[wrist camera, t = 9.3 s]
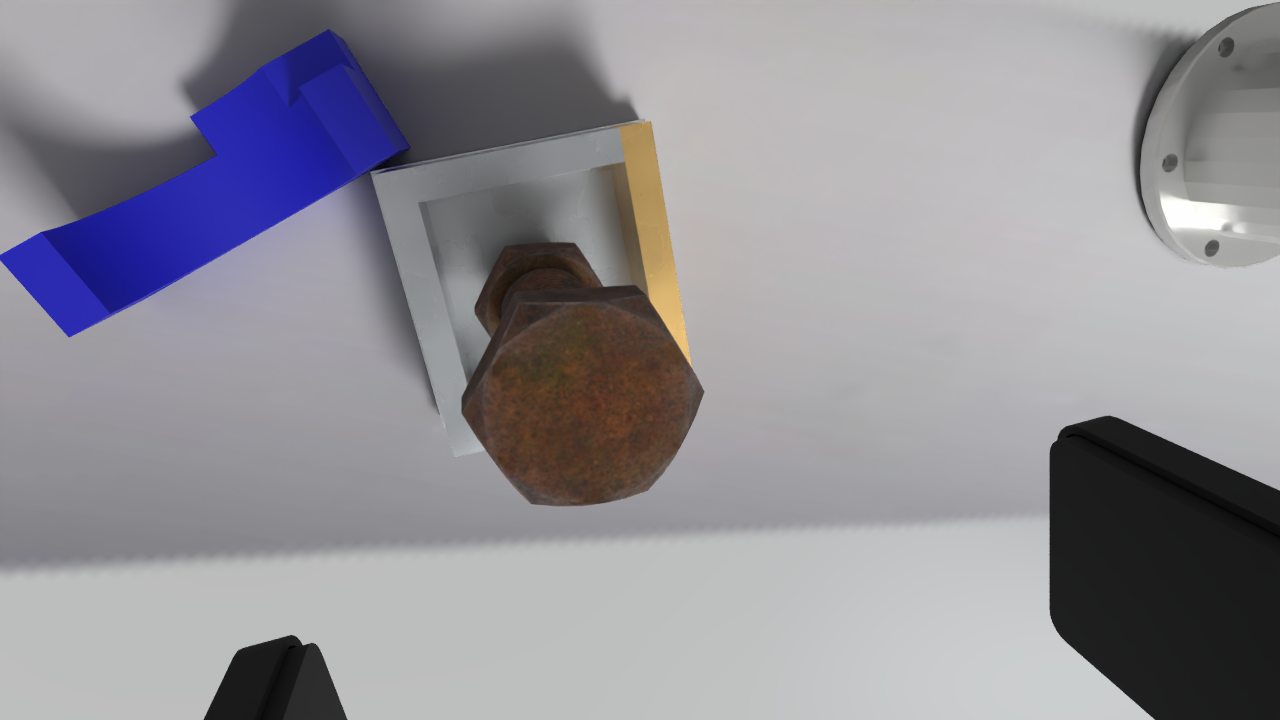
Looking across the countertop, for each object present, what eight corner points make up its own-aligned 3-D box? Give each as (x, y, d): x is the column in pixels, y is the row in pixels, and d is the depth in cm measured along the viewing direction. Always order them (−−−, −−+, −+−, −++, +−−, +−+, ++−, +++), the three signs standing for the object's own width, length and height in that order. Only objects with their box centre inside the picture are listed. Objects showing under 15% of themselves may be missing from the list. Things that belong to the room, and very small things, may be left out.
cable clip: (343, 39, 28) (310, 16, 23) (411, 147, 30) (396, 151, 24) (62, 197, 28) (-42, 213, 22) (145, 298, 30) (68, 337, 24)
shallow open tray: (639, 119, 31) (665, 117, 27) (680, 363, 35) (709, 395, 31) (373, 170, 30) (356, 176, 25) (445, 420, 33) (440, 462, 29)
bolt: (441, 255, 30) (421, 369, 16) (546, 188, 30) (617, 243, 16) (521, 368, 32) (565, 554, 18) (619, 305, 32) (736, 442, 18)
